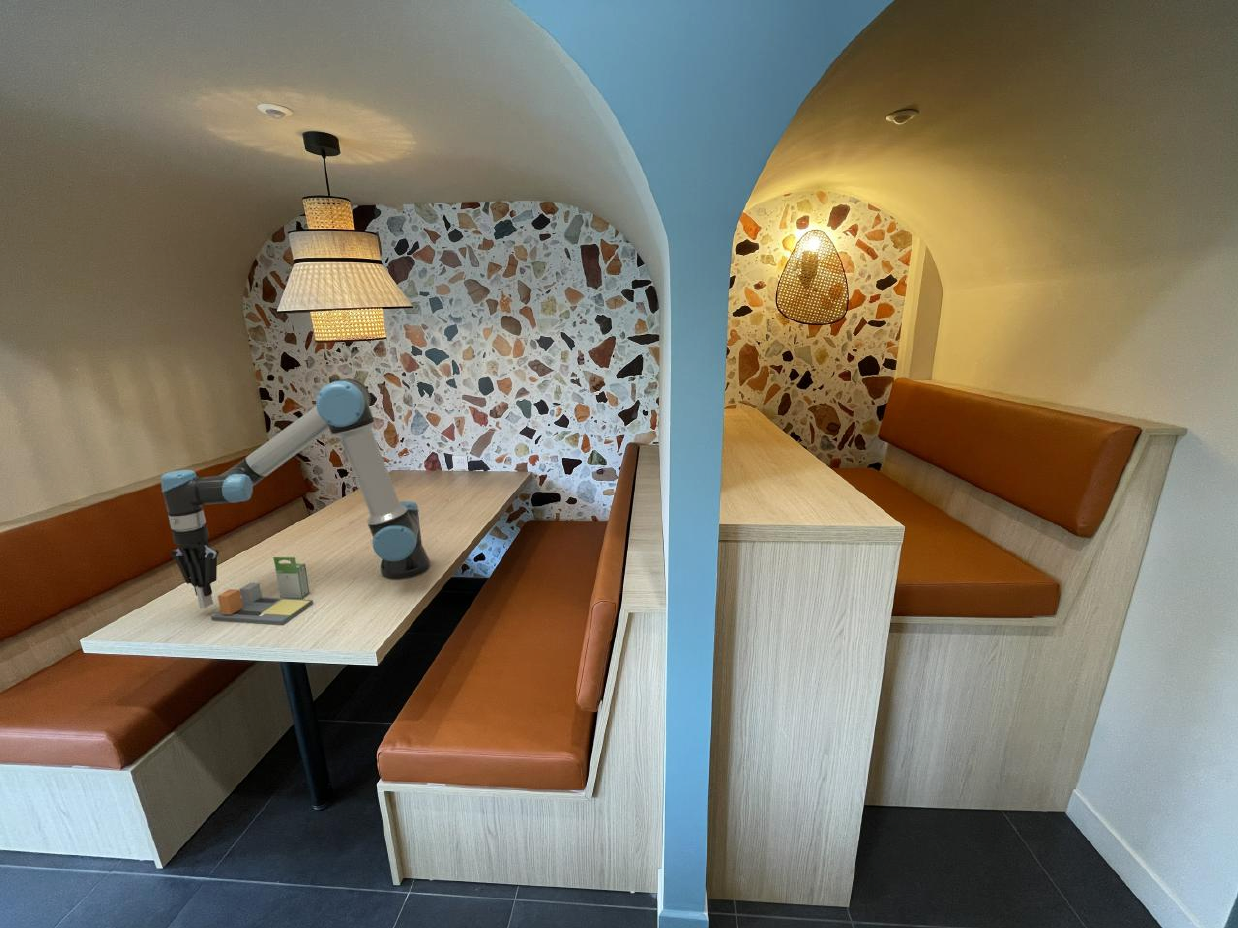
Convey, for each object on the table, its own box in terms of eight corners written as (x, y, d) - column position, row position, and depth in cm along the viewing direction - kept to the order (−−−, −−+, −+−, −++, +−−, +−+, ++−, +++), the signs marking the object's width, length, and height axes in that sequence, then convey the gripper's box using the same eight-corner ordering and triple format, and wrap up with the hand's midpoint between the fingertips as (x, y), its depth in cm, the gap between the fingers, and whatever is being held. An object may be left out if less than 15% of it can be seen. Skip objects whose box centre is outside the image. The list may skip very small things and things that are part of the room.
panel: (246, 599, 162) (243, 582, 160) (313, 603, 159) (310, 585, 157) (211, 620, 150) (207, 601, 149) (282, 625, 147) (279, 606, 146)
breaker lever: (233, 606, 154) (229, 589, 153) (242, 607, 154) (239, 589, 153) (221, 613, 150) (217, 595, 149) (231, 614, 150) (227, 596, 149)
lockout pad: (282, 599, 159) (282, 599, 159) (310, 601, 157) (310, 600, 157) (261, 613, 151) (261, 613, 151) (290, 615, 150) (290, 614, 150)
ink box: (310, 592, 165) (303, 552, 162) (301, 599, 161) (294, 557, 158) (289, 592, 166) (281, 551, 163) (280, 598, 162) (272, 556, 159)
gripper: (155, 531, 145) (174, 611, 150) (197, 532, 143) (215, 613, 149) (181, 521, 152) (198, 598, 158) (222, 523, 150) (238, 600, 156)
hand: (206, 605), depth 153 cm, fingers closed
